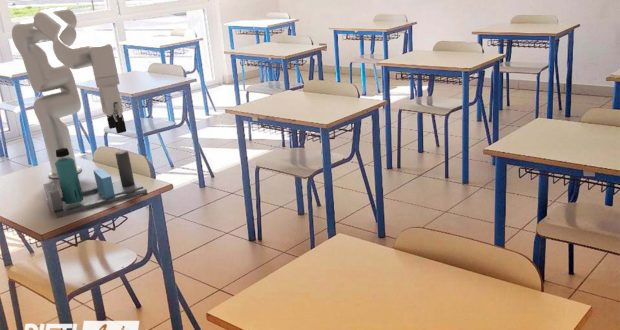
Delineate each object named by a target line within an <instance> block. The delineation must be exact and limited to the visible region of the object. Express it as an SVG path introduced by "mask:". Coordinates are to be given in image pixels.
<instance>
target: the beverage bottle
mask: <svg viewBox="0 0 620 330" xmlns="http://www.w3.org/2000/svg"><path fill="white" fill-rule="evenodd" d="M67 155H69V151H68V149H67V148H62V149H58V150H56V157H64V156H67ZM75 161H76V160H75ZM75 161H74V159H72V158H70V157H64V158H60V159H58V160H57V161H56V163H55V166H56V170H57V174H58V178H57V179H58V181H59V182H58V183H59V187H60V191H61V196H63V199H64V200H63V202H64V204H66V205H74V204H78V203H80V202H82V201H83V200H84V196H83V195H82V194H83V193H82V191H83V190H82V186H81V183H80V178H79V174H78V173H77V170H76V166H75Z"/></svg>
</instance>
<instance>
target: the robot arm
mask: <svg viewBox="0 0 620 330" xmlns="http://www.w3.org/2000/svg"><path fill="white" fill-rule="evenodd" d="M77 23H78V21H77V16H76V15H75V13H74V12H73V11H72V9H70V8H68V7H57V8H56V7H55V8H49V9H48V8H47V9H44V10H43V9H42V10H39V11H38V12H37V13H35V15H34V16H33V18H32V19H29V20H24V21H20V22H18V23H16V24H14V25H13V26H12V29H11V38H12V42H13V44H14V46H15V48H16V49H17V51H18V53H19V54H20V56H21V58H22V61H23V65H24V67H25V71H26V74H27V78H28V81H29V83H30V84H29V85H31V88H32V90H33V91H34V92H36V93H46V92H50V91H55V90H60V91H59V92H55V93H51V94H50V93H49V94H46V95H43V96H41V97H38V98H37V99H35V101H34V102H33V106H32V107H33V111H34V114H35V116H36V118H37V121H38V123H39V125H40V128H41V133H42V137H43V139H44V145H45V149H46V152H47V158H48V161H49V165H50V168H51V170H50V171H48V173H47V175H48V177H49V178H51V179H59V178H58V174H57V170H56V166H55V163H56V161H57V160H58V159H60V158H64V157H70V158H72V159H74V161H75V166H76V170H77V174H78V173H80V172H81V171H82V166H81V165H78V164H77V162H76V161H77V160H76V158H75V157H76V156H75V153H74V148H73V143H72V139H71V135H70V130H69V127H68V126H67V125H66V124H65V123H64V122H63V121H62V120H61V118H64V117H68V116H72V115H75V114H77V113H78V112H80V111H81V108H82V102H81V99H80V98H81V97H80V94H79V91H78V87H77V84H76V80H75V77H74V75H73V71H72V70H80V69H83V68H88V67H92V72H93V76H94V81H95V85H96V88H98V92H99V98H100V104H101V109H102V113H103V114H105V115H106V119H107V120H106V121H107V124H108V129H110V130H112V129H115V130H116V131H115V132H116V134H122V133H126V132H127V127H126V122H125V118H124V115H123V113H124V109H123V103H122V99H121V95H120V90H119V85H120V79H119V74H118V69H117V64H116V60H115V54H114V49H113V46H112V44H110V43H107V42H105V43H101V42H89V43H83V44H77V45H73V44H74V43H75V41H76V38H77V31H76V27H77ZM45 42H52V50H53V53H54V54H55V55H54V56H55V57H56V59H57V60H58V61H59V63H53V64H51V63H49V62H50V61H49V59H48V55H47V53H46V51H44V49H43V48H42V47H40V45H38V44H39V43H45ZM62 148H67V149H68V151H69V155H67V156H64V157H56V150H58V149H62Z"/></svg>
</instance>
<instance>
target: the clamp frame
mask: <svg viewBox="0 0 620 330" xmlns="http://www.w3.org/2000/svg"><path fill="white" fill-rule="evenodd" d="M117 182H121V180H118V181H115V182H112V184H113V183H117ZM43 190H44V192H45V197H46V204H47V205H48V207H49V209H50V210H51V211H52V213H53V214H54V216H55V218H56V219H59V218H63V217H66V216H70V215H73V214H77V213H80V212H85V211H88V210H92V209H95V208H99V207H102V206H105V205H109V204H112V203H113V204H114V203H116V202H119V201H120V202H121V201H124V200H128V199H131V197H132V198H134V197H138V195H139V196H141V195H140V194H143V193H146V194H148V189H147V188H146V187H145V188H144V187H143V189H140V190H136V191H132V192H129V193H125V194H121V195H118V196H114V197H110V198H107V199H105V198H104V199H100V200H95V201H91V202H88V203H84V204H81V205H78V206H74V207H71V208H66V209H64V205H63V202H64V201H63V200H64V199H63V195H61V192H60V190H59V189H58V187H57V186H56V184H55V183H54V182H53V181H51V182H46V183H44V184H43ZM82 193H83V194H82V195H83V197H86V196H91V195H93V194H97V193H99V192H98V189H97V186H96V187H92V188H89V189H84V190H82ZM143 195H144V194H143Z"/></svg>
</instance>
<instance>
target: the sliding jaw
mask: <svg viewBox="0 0 620 330" xmlns="http://www.w3.org/2000/svg"><path fill="white" fill-rule="evenodd" d="M114 155H115V159H116V163H117V167H118V169H117V170H118V174H119V179H120V181H121V182H118V181H116V182H117V183H114V182H113V180H112V176H111V175H110V174H109V173H108V172H107V171H105V169H103V167H102V168H98V169H94V170H93V175H94V180H95V183H96V184H95V185H96V187H97V189H98V192H97V193H99V194H100V196H101V197H103V198H104V199H107V198H110V197H114V196H118V195H121V194H125V193H129V192H132V191H136V190H140V189H143V188H144V185H142V184H141V183H140V182H138V181H137V180H136V179H135V178H134V173H133V169H132V168H133V167H132V163H131V159H130V155H129V151H128V150H120V151H117V152H115V154H114ZM112 183H113V184H112Z"/></svg>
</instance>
